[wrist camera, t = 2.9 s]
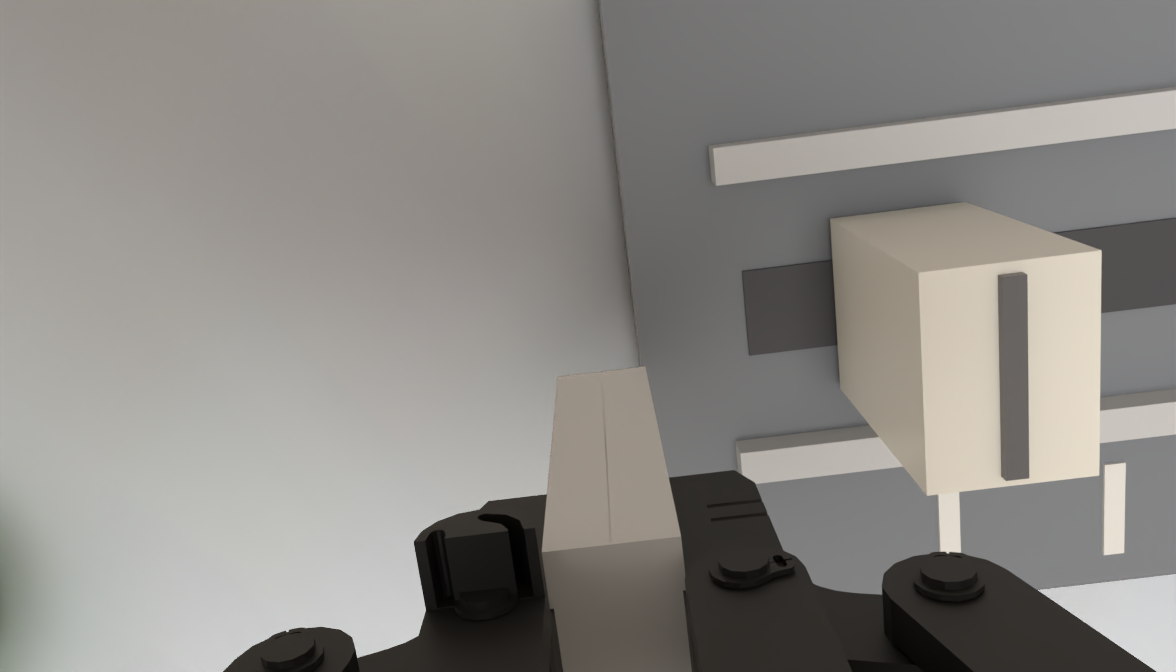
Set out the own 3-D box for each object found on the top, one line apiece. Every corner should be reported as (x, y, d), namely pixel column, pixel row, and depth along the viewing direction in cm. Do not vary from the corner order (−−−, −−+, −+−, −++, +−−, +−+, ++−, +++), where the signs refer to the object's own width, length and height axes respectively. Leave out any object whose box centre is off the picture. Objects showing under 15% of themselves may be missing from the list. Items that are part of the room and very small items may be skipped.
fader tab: (830, 218, 22) (922, 275, 16) (965, 201, 22) (1107, 252, 16) (840, 388, 23) (930, 500, 17) (969, 373, 23) (1105, 480, 17)
